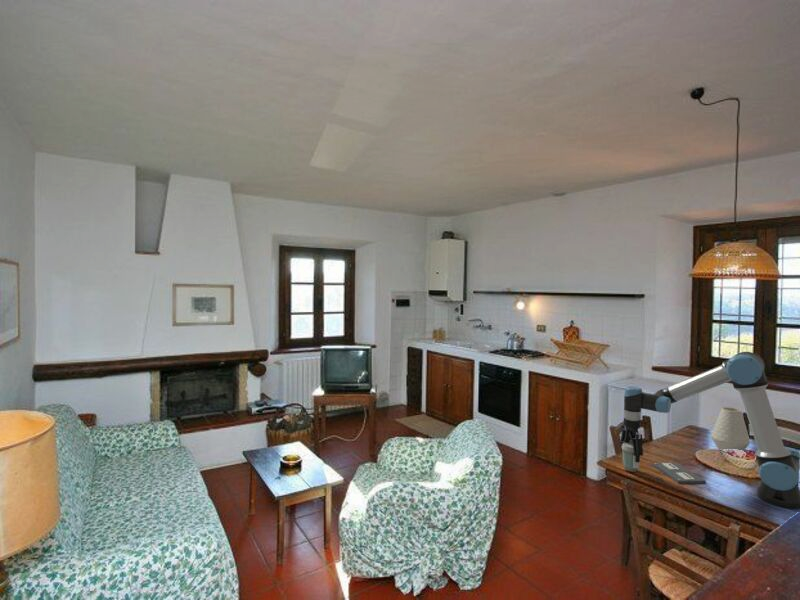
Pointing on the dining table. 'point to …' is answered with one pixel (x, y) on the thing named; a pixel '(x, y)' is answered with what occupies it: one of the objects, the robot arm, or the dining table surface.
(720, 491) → the dining table surface
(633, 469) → the coffee cup
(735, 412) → the vase
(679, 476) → the board
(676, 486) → the dining table surface
